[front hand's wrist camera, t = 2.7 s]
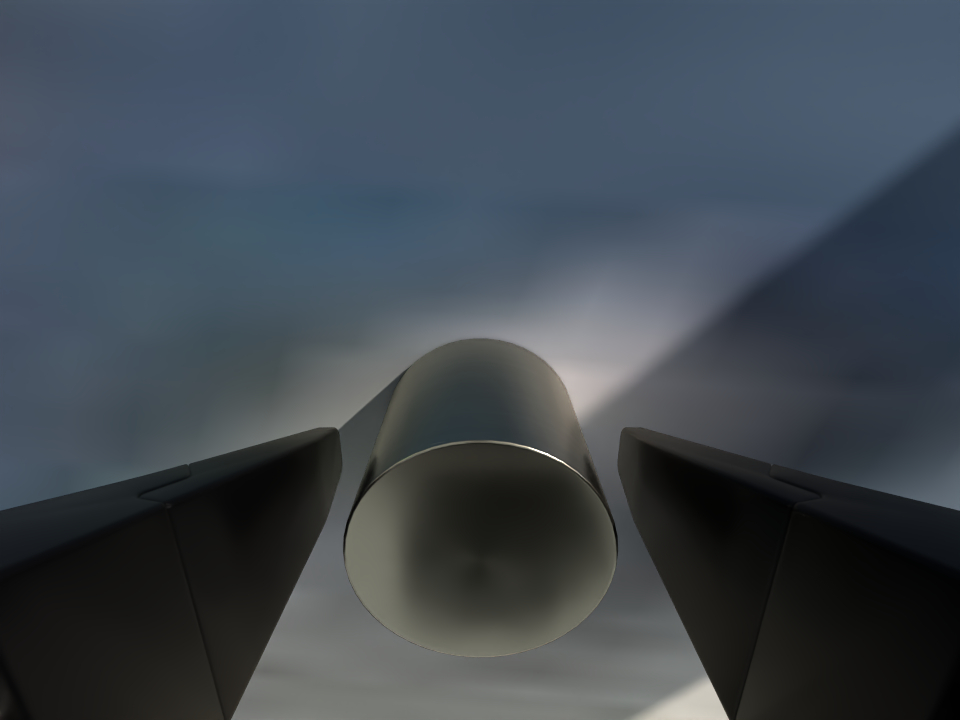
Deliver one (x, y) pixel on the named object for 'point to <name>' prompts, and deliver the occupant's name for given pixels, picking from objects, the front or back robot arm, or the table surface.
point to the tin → (480, 507)
